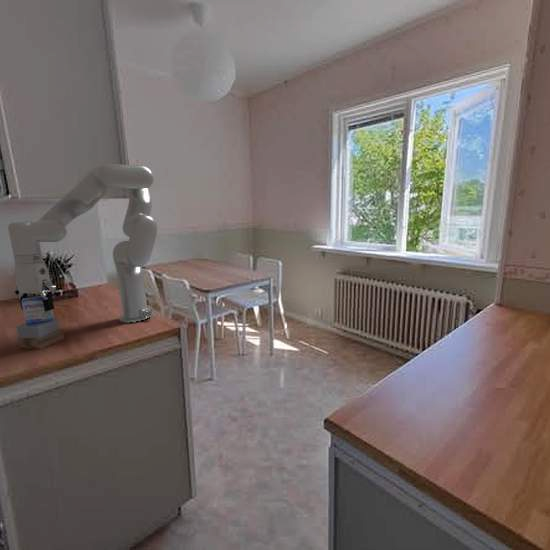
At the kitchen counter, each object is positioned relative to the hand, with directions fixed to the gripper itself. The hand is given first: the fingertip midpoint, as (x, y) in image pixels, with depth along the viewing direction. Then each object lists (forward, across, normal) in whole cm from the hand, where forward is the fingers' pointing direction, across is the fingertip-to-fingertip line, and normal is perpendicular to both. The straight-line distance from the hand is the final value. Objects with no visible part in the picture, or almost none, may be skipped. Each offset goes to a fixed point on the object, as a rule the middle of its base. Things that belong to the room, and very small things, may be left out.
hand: (38, 309), depth 116 cm
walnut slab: (+12, 0, +1) cm, 12 cm away
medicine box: (+4, 0, 0) cm, 4 cm away
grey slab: (+8, 0, +1) cm, 8 cm away
